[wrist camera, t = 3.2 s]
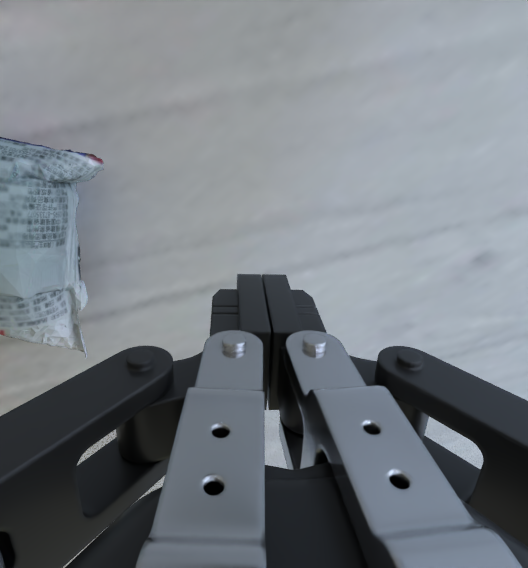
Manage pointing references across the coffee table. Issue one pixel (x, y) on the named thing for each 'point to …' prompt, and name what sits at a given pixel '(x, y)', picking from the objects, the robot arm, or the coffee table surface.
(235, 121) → the coffee table surface
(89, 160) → the packaged food
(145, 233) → the coffee table surface
